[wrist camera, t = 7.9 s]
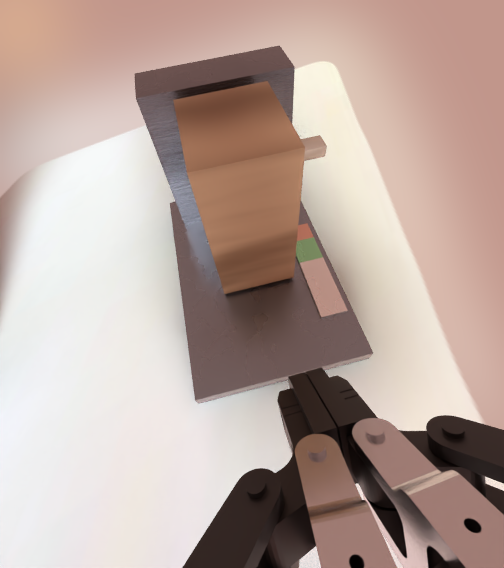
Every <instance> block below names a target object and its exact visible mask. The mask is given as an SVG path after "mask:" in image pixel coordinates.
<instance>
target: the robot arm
mask: <svg viewBox="0 0 504 568" xmlns="http://www.w3.org/2000/svg"><path fill="white" fill-rule="evenodd" d="M288 381H289V386H290V389H287V390H284V391H280V393H279V396H278V405H279V409H280V413H281V417H282V421H283V425H284V429H285V433H286V436H287V439H288V442H289V445H290V448H291V451H292V458H291V460H290V461H289V463H288V464H287V465H286V466H285V467H284V468H282V469H281V470H280V471H278V472H277V473H274V472H272V471H270V470H268V469H262V468H260V469H254V470H251V471H249V472H247V473H246V474H244V475H243V476H242V477H241V478H240V479H239V481H238V482H237V483H236V485H235V487H234V488H233V490H232V491H231V493H230V494H229V496H228V497H227V499H226V501H225V502H224V504H223V505H222V507H221V508H220V510H219V512H218V513H217V515H216V516H215V518H214V519H213V521H212V522H211V524H210V526H209V527H208V529H207V530H206V532H205V533H204V535H203V537H202V538H201V540H200V541H199V543H198V544H197V546H196V547H195V549H194V551H193V552H192V554H191V555H190V557H189V558H188V560H187V561H186V563H185V565H184V566H183V568H299V559H300V558H302V557H303V556H304V555H305V554H307V553H308V552H309V551H310V550H311V549H313V548H314V547H315V546H316V547H317V551H318V555H319V559H320V564H321V568H397V567H396V564H395V562H394V560H393V558H392V556H391V553H390V551H389V549H388V547H387V544H386V542H385V540H384V538H383V535H384V537H385V538H386V540H387V542H388V543H389V545H390V547H391V548H392V550H393V551H394V553H395V555H396V556H397V558H398V560H399V561H400V563H401V565H402V566H403V568H504V491H503V490H500V489H498V488H495V487H493V486H490V485H487V484H485V476H486V477H488V478H491V479H493V480H496V481H499V482H501V483H504V430H502V429H498V428H495V427H491V426H488V425H484V424H480V423H477V422H473V421H470V420H466V419H463V418H459V417H455V416H446V415H444V416H437V417H434V418H432V419H431V420H430V421H429V422H428V423H427V426H426V429H427V431H400V430H398V429H397V428H396V427H395V426H394V425H392V424H391V423H389V422H388V421H386V420H383V419H379V418H377V417H376V415H375V414H374V413H373V412H372V410H371V409H370V408H369V407H368V406H367V404H366V403H365V402H364V401H363V399H362V398H361V397H360V396H359V395H358V393H357V392H356V391H355V390H354V389H353V387H352V386H351V385H350V384H349V382H348V381H347V380H345V379H343V378H341V377H339V376H334V377H330V378H329V377H328V375H327V374H326V372H325V371H324V370H323V368H322V367H320V368H317V369H313V370H310V371H306V372H303V373H299V374H295V375H292V376H288ZM356 483H359V485H360V487H361V489H362V491H363V496H364V500H362V499H361V497H360V495H359V492H358V490H357V488H356V485H355V484H356ZM380 530H381V531H380ZM381 532H382V533H383V535H382V533H381Z"/></svg>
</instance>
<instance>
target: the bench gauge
mask: <svg viewBox="0 0 504 568" xmlns="http://www.w3.org/2000/svg"><path fill="white" fill-rule="evenodd" d="M265 81H268V83H269V84H270V86H271V88H272V90H273V92H274V93H275V95H276V97H277V99H278V100H279V102H280V104H281V106H282V107H283V109H284V111H285V113H286V115H287V116H288V118H289V120H290V122H291V123H292V113H293V90H294V66H293V64H292V63H291V61H290V60H289V58H288V57H287V56H286V54H285V53H284V51H283V50H282V48H281V47H280V46H275V47H270V48H265V49H260V50H255V51H249V52H245V53H239V54H234V55H229V56H224V57H219V58H214V59H208V60H203V61H198V62H193V63H187V64H182V65H177V66H172V67H167V68H162V69H156V70H151V71H146V72H141V73H136V74H135V89H136V100H137V102H138V105H139V107H140V110H141V113H142V115H143V118H144V120H145V123H146V126H147V128H148V131H149V133H150V136H151V139H152V141H153V144H154V146H155V149H156V151H157V154H158V157H159V159H160V162H161V164H162V167H163V170H164V172H165V175H166V177H167V180H168V183H169V185H170V188H171V190H172V193H173V196H174V198H175V201H176V202H173V203H170V208H171V216H172V223H173V231H174V239H175V247H176V254H177V262H178V270H179V278H180V285H181V293H182V301H183V309H184V317H185V324H186V332H187V340H188V348H189V355H190V363H191V371H192V379H193V387H194V394H195V401H197V402H198V403H203V402H207V401H210V400H214V399H218V398H222V397H225V396H229V395H233V394H237V393H240V392H244V391H248V390H252V389H255V388H259V387H263V386H267V385H271V384H274V383H278V382H282V381H286V380H288V376H292V375H295V374H299V373H303V372H306V371H310V370H313V369H317V368H320V367H322V368H323V370H327V369H331V368H334V367H338V366H342V365H346V364H349V363H353V362H357V361H361V360H364V359H368V358H370V357H371V355H372V354H373V352H372V349H371V347H370V345H369V343H368V341H367V339H366V337H365V335H364V333H363V331H362V328H361V326H360V324H359V322H358V320H357V318H356V316H355V314H354V312H353V309H352V307H351V305H350V303H349V301H348V299H347V297H346V295H345V293H344V290H343V288H342V286H341V284H340V282H339V280H338V278H337V276H336V274H335V272H334V269H333V267H332V265H331V263H330V261H329V259H328V257H327V255H326V253H325V250H324V248H323V246H322V244H321V242H320V240H319V238H318V236H317V234H316V232H315V229H314V227H313V225H312V223H311V221H310V219H309V217H308V215H307V213H306V210H305V208H304V206H303V204H302V202H301V200H300V211H299V223H298V234H297V246H296V257H295V269H294V277H293V278H289V279H284V280H280V281H276V282H272V283H268V284H264V285H260V286H256V287H252V288H248V289H243V290H239V291H235V292H231V293H227V294H224V291H223V288H222V284H221V281H220V278H219V275H218V271H217V268H216V265H215V262H214V259H213V255H212V252H211V249H210V246H209V242H208V239H207V236H206V233H205V229H204V226H203V223H202V220H201V217H200V213H199V210H198V207H197V204H196V200H195V197H194V194H193V191H192V188H191V184H190V181H189V178H188V175H187V170H186V165H185V160H184V154H183V149H182V144H181V139H180V133H179V128H178V123H177V117H176V112H175V107H174V101H173V100H176V99H181V98H186V97H191V96H196V95H201V94H206V93H211V92H215V91H220V90H225V89H230V88H235V87H240V86H245V85H250V84H255V83H260V82H265Z"/></svg>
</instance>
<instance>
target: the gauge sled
mask: <svg viewBox="0 0 504 568" xmlns="http://www.w3.org/2000/svg"><path fill="white" fill-rule="evenodd" d="M173 101H174V107H175V112H176V117H177V123H178V128H179V133H180V139H181V144H182V149H183V154H184V160H185V165H186V170H187V175H188V178H189V181H190V184H191V188H192V191H193V194H194V197H195V200H196V204H197V207H198V210H199V213H200V217H201V220H202V223H203V226H204V229H205V233H206V236H207V239H208V242H209V246H210V249H211V252H212V255H213V259H214V262H215V265H216V268H217V271H218V275H219V278H220V281H221V284H222V288H223V291H224V294H227V293H231V292H235V291H239V290H243V289H248V288H252V287H256V286H260V285H264V284H268V283H272V282H276V281H280V280H284V279H289V278H293V277H294V269H295V257H296V246H297V234H298V223H299V211H300V200H301V188H302V177H303V165H304V161H306V160H310V159H315V158H319V157H324V156H325V154H326V147H327V146H326V144H325V143H324V141H323V139H322V138H321V136H320V135H319V136H315V137H310V138H305V139H300V138H299V136H298V134H297V132H296V131H295V129H294V127H293V125H292V123H291V122H290V120H289V118H288V116H287V115H286V113H285V111H284V109H283V107H282V106H281V104H280V102H279V100H278V99H277V97H276V95H275V93H274V92H273V90H272V88H271V86H270V84H269V83H268V81H265V82H260V83H255V84H250V85H245V86H240V87H235V88H230V89H225V90H220V91H215V92H211V93H206V94H201V95H196V96H191V97H186V98H181V99H176V100H173Z"/></svg>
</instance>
